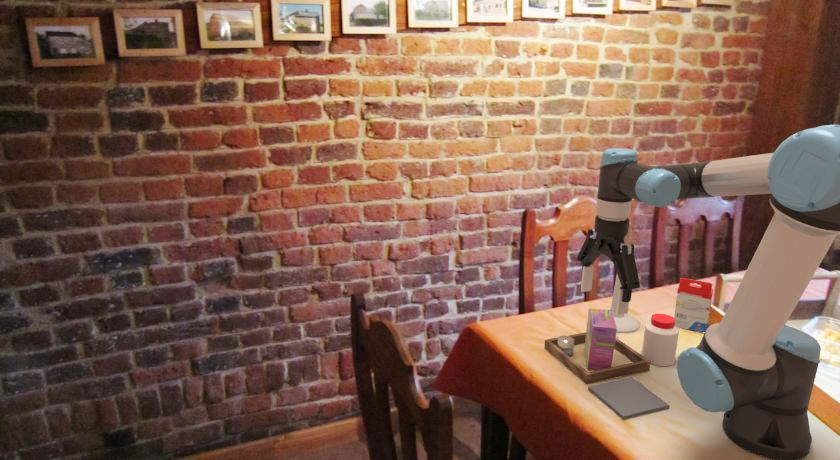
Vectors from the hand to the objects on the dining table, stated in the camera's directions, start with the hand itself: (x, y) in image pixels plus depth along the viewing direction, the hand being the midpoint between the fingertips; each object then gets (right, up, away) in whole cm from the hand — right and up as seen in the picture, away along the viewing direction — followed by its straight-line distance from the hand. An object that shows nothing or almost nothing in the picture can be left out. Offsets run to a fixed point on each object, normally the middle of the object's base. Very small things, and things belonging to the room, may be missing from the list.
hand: (603, 301), depth 138 cm
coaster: (+2, -20, -11) cm, 23 cm away
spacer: (-7, -14, +8) cm, 18 cm away
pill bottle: (+16, -15, +6) cm, 22 cm away
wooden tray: (0, -15, +5) cm, 16 cm away
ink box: (+31, -10, +23) cm, 40 cm away
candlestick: (+11, -9, +25) cm, 29 cm away
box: (0, -15, +4) cm, 16 cm away
